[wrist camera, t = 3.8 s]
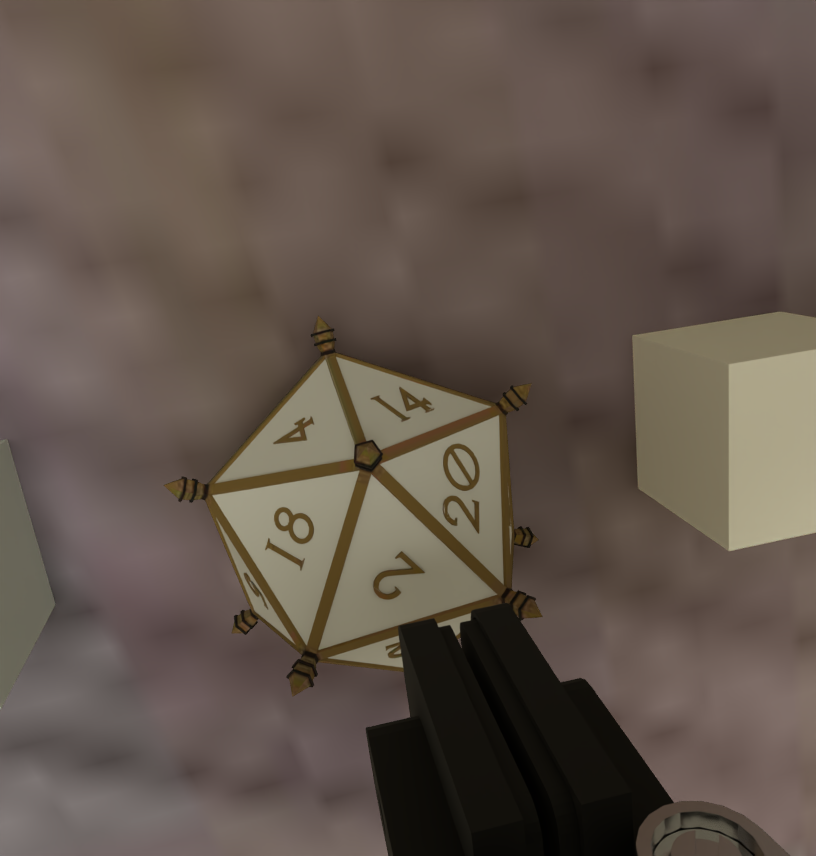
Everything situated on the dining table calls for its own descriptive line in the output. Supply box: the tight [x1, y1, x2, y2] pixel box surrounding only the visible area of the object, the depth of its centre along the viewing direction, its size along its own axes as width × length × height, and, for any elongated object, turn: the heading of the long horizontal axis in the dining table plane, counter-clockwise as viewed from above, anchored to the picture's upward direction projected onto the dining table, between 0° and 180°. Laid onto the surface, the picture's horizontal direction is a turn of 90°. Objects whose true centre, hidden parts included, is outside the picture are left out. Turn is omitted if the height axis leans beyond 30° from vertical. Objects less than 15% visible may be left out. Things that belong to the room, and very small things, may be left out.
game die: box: [164, 316, 542, 696], centre depth 18 cm, size 9×8×10 cm
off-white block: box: [632, 312, 816, 551], centre depth 22 cm, size 5×5×5 cm
